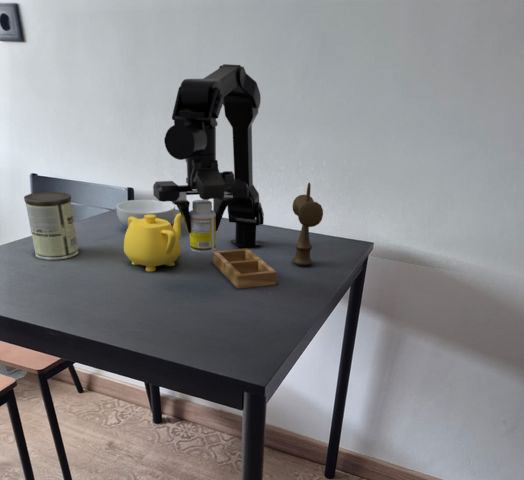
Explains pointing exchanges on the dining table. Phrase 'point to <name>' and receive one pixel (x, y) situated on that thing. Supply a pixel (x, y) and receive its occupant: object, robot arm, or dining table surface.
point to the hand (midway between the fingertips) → (202, 231)
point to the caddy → (244, 268)
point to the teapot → (152, 241)
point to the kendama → (306, 225)
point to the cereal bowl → (145, 210)
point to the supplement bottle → (202, 227)
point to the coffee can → (52, 225)
